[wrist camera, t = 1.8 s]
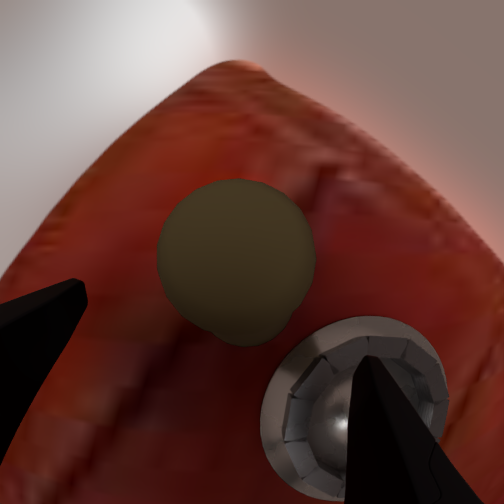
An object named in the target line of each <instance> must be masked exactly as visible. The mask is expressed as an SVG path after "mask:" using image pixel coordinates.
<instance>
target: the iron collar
mask: <svg viewBox="0 0 504 504" xmlns="http://www.w3.org/2000/svg"><path fill="white" fill-rule="evenodd" d="M365 355H371V356H376V357H378V358H379V359H380V360H381V361H382V363H383V364H384V366H385V367H386V368H387V370H388V371H389V373H390V374H391V375H392V377H393V378H394V380H395V381H396V383H397V384H398V385H399V387H400V388H401V390H402V391H403V393H404V394H405V395H406V397H407V398H408V400H409V401H410V403H411V404H412V406H413V407H414V408H415V410H416V411H417V413H418V414H419V416H420V417H421V419H422V420H423V422H424V423H425V425H426V426H427V428H428V429H429V431H430V432H431V434H432V435H433V437H434V438H435V440H436V442H438V443H439V441H440V439H438V438H437V437H442V434H443V429H444V425H445V420H446V415H447V410H448V405H449V400H447V398H448V397H449V394H448V391H447V382H446V376H445V372H444V368H443V366H442V363H441V361H440V358H439V356H438V355H437V353H436V351H435V349H434V348H433V347H432V345H431V344H430V343H429V342H428V340H427V339H426V338H425V337H424V336H423V335H421V334H420V333H419V332H418V331H416V330H415V329H413V328H412V327H411V326H409V325H406V324H404V323H402V322H400V321H397V320H394V319H391V318H386V317H380V316H361V317H353V318H349V319H345V320H341V321H338V322H335V323H332V324H330V325H327V326H325V327H323V328H321V329H319V330H317V331H315V332H314V333H312V334H311V335H309V336H308V337H306V338H305V339H304V340H302V341H301V342H300V343H299V344H298V345H297V346H295V347H294V348H293V349H292V350H291V351H290V352H289V354H288V355H287V356H286V357H285V358H284V359H283V361H282V362H281V363H280V365H279V366H278V368H277V369H276V370H275V372H274V374H273V376H272V378H271V380H270V382H269V384H268V386H267V389H266V392H265V394H264V398H263V402H262V406H261V415H260V432H261V439H262V444H263V448H264V451H265V454H266V456H267V459H268V460H269V462H270V464H271V466H272V468H273V469H274V470H275V471H276V473H277V474H278V475H279V476H280V478H282V479H283V480H284V481H285V482H286V483H287V484H288V485H290V486H291V487H293V488H294V489H296V490H297V491H299V492H301V493H303V494H305V495H308V496H310V497H314V498H317V499H322V500H328V501H344V499H345V484H346V465H347V428H348V415H349V406H350V398H351V388H352V378H353V374H354V372H355V370H356V369H357V367H358V365H359V364H360V362H361V360H362V358H363V357H364V356H365Z"/></svg>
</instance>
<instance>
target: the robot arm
mask: <svg viewBox="0 0 504 504" xmlns="http://www.w3.org/2000/svg"><path fill="white" fill-rule="evenodd" d="M87 304H88V299H87V294H86V289H85V284H84V282H83V281H81V280H78V279H75V278H71V279H69V280H66V281H63V282H60V283H57V284H54V285H52V286H49V287H46V288H43V289H41V290H38V291H35V292H32V293H30V294H27V295H24V296H21V297H19V298H16V299H13V300H11V301H8V302H5V303H3V304H0V465H1V463H2V461H3V458H4V456H5V454H6V452H7V450H8V448H9V446H10V444H11V441H12V439H13V437H14V435H15V433H16V431H17V429H18V427H19V425H20V423H21V421H22V420H23V418H24V416H25V414H26V412H27V410H28V408H29V407H30V405H31V403H32V401H33V399H34V398H35V396H36V394H37V392H38V391H39V389H40V387H41V385H42V384H43V382H44V380H45V379H46V377H47V375H48V374H49V372H50V370H51V369H52V367H53V365H54V364H55V362H56V361H57V359H58V357H59V356H60V354H61V353H62V351H63V349H64V348H65V346H66V345H67V343H68V341H69V340H70V338H71V336H72V334H73V332H74V330H75V328H76V326H77V324H78V322H79V321H80V319H81V317H82V315H83V313H84V311H85V309H86V307H87ZM344 504H484V503H483V502H482V501H481V500H480V499H479V498H478V496H477V495H476V494H475V493H474V491H473V490H472V489H471V487H470V486H469V485H468V484H467V482H466V481H465V480H464V479H463V477H462V476H461V475H460V474H459V472H458V471H457V470H456V468H455V467H454V466H453V464H452V463H451V462H450V460H449V459H448V457H447V456H446V454H445V453H444V452H443V450H442V449H441V447H440V445H439V444H438V442H436V440H435V438H434V437H433V435H432V434H431V432H430V431H429V429H428V428H427V426H426V425H425V423H424V422H423V420H422V419H421V417H420V416H419V414H418V413H417V411H416V410H415V408H414V407H413V406H412V404H411V403H410V401H409V400H408V398H407V397H406V395H405V394H404V393H403V391H402V390H401V388H400V387H399V385H398V384H397V383H396V381H395V380H394V378H393V377H392V375H391V374H390V373H389V371H388V370H387V368H386V367H385V366H384V364H383V363H382V361H381V360H380V359H379V358H378V357H376V356H371V355H365V356H364V357H363V358H362V360H361V362H360V364H359V365H358V367H357V369H356V370H355V372H354V374H353V378H352V388H351V398H350V406H349V415H348V428H347V465H346V484H345V499H344Z"/></svg>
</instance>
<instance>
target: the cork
mask: <svg viewBox="0 0 504 504" xmlns="http://www.w3.org/2000/svg"><path fill="white" fill-rule="evenodd" d="M315 264H316V253H315V247H314V241H313V235H312V230H311V228H310V226H309V224H308V222H307V220H306V219H305V217H304V215H303V213H302V211H301V209H300V208H299V207H298V206H297V205H296V204H295V203H294V202H292V201H291V200H290V199H289V198H288V197H287V196H286V195H285V194H284V193H283V192H281V191H279V190H277V189H275V188H273V187H271V186H269V185H267V184H265V183H262V182H256V181H251V180H245V179H230V180H220V181H216V182H213V183H211V184H208V185H206V186H203V187H201V188H198V189H196V190H195V191H194V192H192V193H191V194H190V195H188V196H187V197H186V198H185V199H183V200H182V201H181V202H179V203H178V204H177V206H176V207H175V208H174V210H173V211H172V213H171V214H170V215H169V217H168V218H167V220H166V221H165V223H164V225H163V228H162V231H161V234H160V237H159V241H158V244H157V270H158V273H159V276H160V279H161V282H162V285H163V288H164V291H165V294H166V296H167V298H168V299H169V300H170V302H171V303H172V304H173V305H174V307H175V308H176V309H177V310H178V312H179V313H180V314H181V315H182V316H183V317H184V318H186V319H187V320H189V321H190V322H192V323H193V324H195V325H197V326H198V327H200V328H201V329H203V330H206V331H210V332H212V333H213V334H214V335H215V336H216V337H218V338H219V339H221V340H223V341H224V342H226V343H228V344H232V345H236V346H241V347H248V346H258V345H261V344H263V343H265V342H268V341H270V340H272V339H273V338H275V337H276V336H277V335H278V334H279V333H280V332H281V331H282V330H283V329H284V328H285V326H286V325H287V323H288V321H289V319H290V318H291V316H292V312H293V311H294V310H295V309H297V308H298V307H299V306H300V304H301V303H302V301H303V299H304V297H305V295H306V293H307V292H308V290H309V288H310V286H311V284H312V281H313V275H314V270H315Z"/></svg>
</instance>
